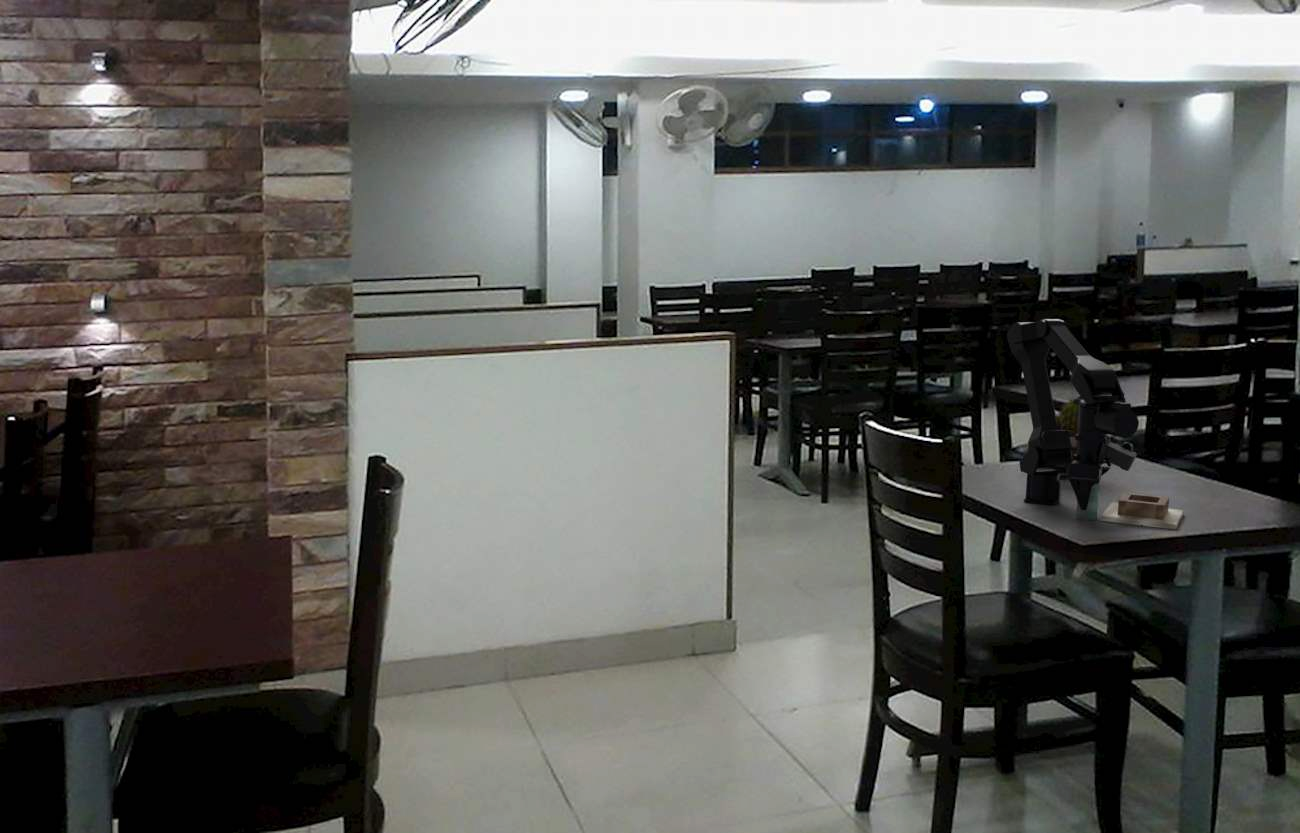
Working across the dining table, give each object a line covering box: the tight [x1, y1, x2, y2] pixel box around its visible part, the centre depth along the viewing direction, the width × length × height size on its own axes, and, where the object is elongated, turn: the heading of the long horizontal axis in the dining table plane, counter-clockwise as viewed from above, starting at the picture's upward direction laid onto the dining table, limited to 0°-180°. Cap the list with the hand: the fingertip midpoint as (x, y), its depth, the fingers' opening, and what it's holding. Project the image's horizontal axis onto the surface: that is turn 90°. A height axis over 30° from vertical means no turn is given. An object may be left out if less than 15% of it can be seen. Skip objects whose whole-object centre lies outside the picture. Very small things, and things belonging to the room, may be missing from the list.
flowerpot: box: [1055, 394, 1079, 480], centre depth 300 cm, size 14×15×20 cm
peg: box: [1075, 483, 1100, 521], centre depth 260 cm, size 4×4×7 cm
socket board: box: [1100, 491, 1185, 530], centre depth 261 cm, size 14×14×4 cm
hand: (1087, 505), depth 260 cm, fingers open, 8 cm apart
